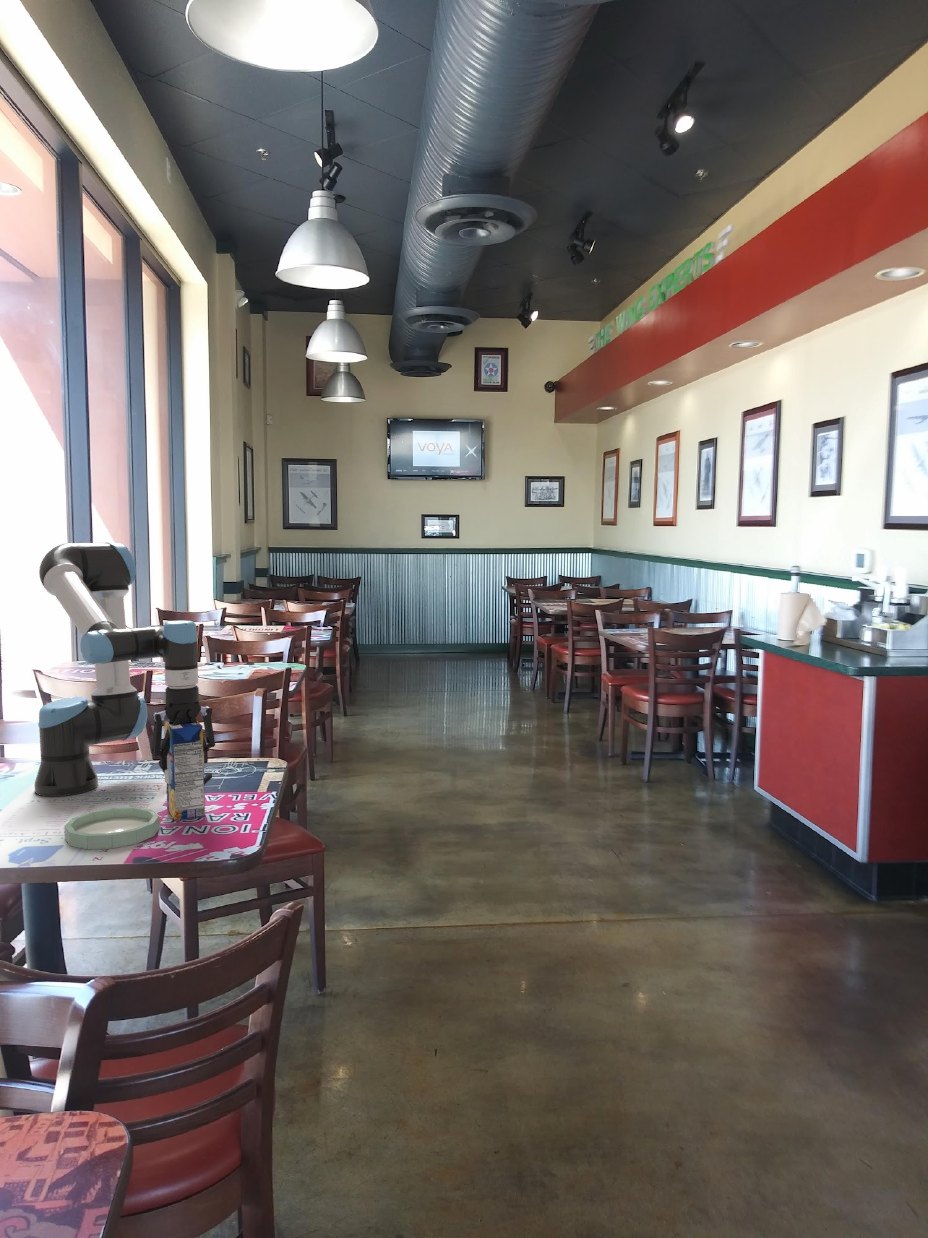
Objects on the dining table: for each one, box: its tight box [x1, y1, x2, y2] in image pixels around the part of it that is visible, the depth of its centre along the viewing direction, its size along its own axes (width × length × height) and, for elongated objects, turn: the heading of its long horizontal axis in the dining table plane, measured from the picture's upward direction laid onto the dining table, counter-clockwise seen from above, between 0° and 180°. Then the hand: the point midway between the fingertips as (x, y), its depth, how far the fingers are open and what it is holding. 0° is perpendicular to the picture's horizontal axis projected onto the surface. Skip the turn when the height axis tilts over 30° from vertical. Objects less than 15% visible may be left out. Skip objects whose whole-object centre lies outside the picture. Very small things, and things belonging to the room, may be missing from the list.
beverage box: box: [163, 719, 206, 822], centre depth 204 cm, size 7×11×22 cm, turn 28°
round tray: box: [64, 806, 161, 850], centre depth 191 cm, size 19×19×3 cm
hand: (184, 779), depth 205 cm, fingers open, 7 cm apart
